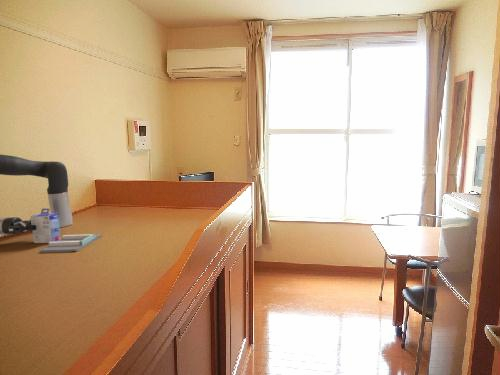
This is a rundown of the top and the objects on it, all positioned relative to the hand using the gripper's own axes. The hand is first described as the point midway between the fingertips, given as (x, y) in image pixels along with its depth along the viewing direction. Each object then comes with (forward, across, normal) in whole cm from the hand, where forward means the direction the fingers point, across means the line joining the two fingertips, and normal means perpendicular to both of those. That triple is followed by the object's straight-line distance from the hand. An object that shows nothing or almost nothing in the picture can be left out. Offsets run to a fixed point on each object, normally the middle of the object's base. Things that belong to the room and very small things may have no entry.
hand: (42, 224), depth 152 cm
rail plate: (+16, -5, +8) cm, 18 cm away
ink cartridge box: (+1, 0, +8) cm, 8 cm away
